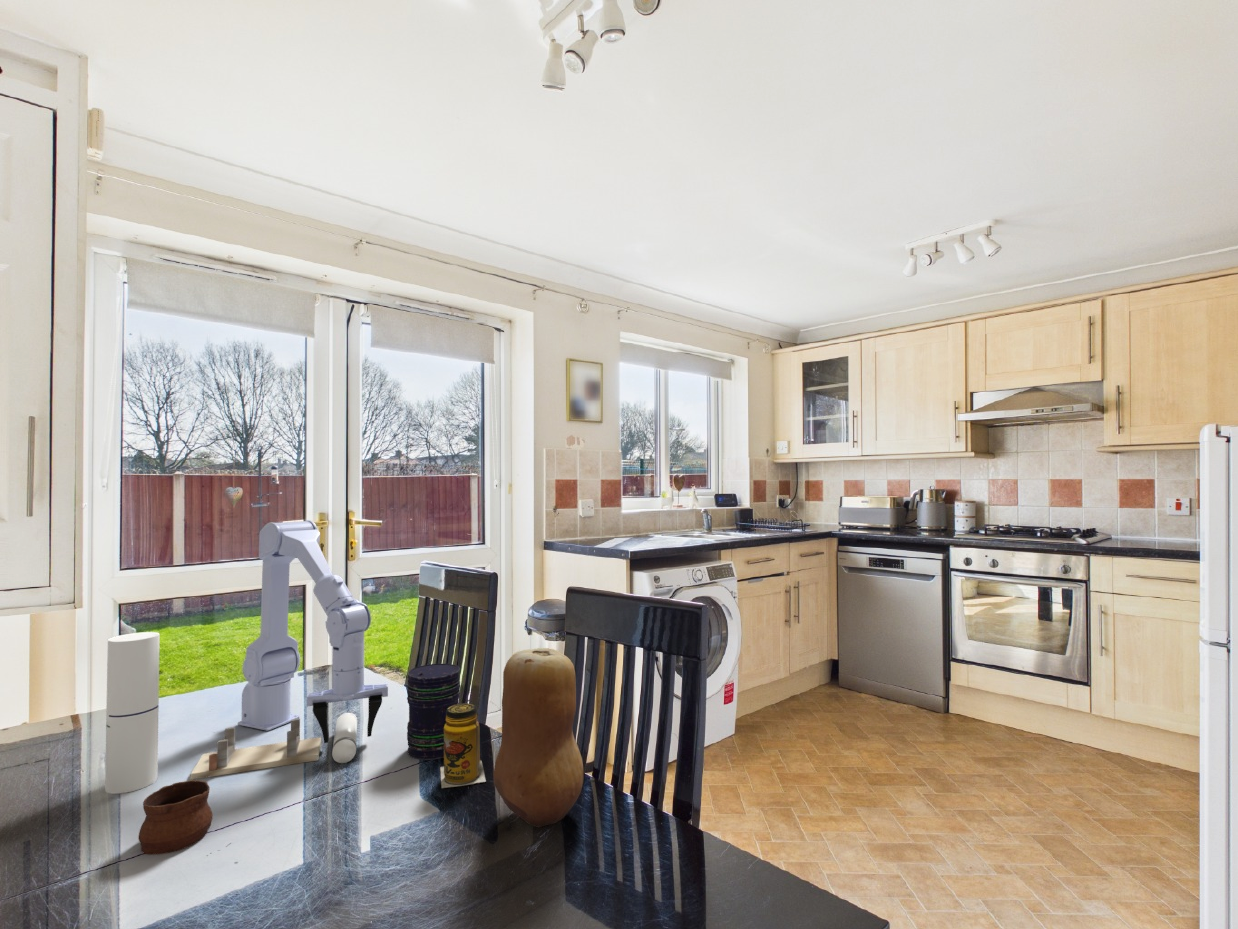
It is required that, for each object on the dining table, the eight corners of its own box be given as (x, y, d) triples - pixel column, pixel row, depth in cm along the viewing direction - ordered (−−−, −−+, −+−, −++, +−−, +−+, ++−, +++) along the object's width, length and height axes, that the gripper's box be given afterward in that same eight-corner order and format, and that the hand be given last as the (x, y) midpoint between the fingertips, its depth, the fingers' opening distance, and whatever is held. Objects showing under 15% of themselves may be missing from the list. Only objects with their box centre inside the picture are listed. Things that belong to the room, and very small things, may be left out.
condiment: (441, 789, 105) (441, 716, 106) (440, 768, 113) (440, 700, 114) (486, 783, 107) (485, 711, 108) (481, 762, 115) (481, 696, 116)
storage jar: (440, 734, 128) (440, 660, 129) (470, 747, 122) (470, 669, 123) (396, 751, 121) (396, 672, 121) (426, 765, 114) (426, 681, 115)
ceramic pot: (270, 830, 93) (269, 781, 94) (124, 896, 79) (124, 838, 79) (215, 799, 104) (215, 755, 104) (77, 853, 89) (77, 802, 89)
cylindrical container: (128, 795, 104) (131, 642, 105) (93, 791, 106) (96, 640, 106) (167, 775, 111) (170, 632, 112) (134, 772, 113) (136, 631, 113)
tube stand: (190, 780, 109) (190, 747, 110) (203, 759, 118) (203, 729, 118) (318, 760, 117) (318, 730, 117) (321, 742, 125) (321, 714, 125)
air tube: (338, 735, 130) (333, 716, 129) (359, 728, 131) (355, 709, 131) (334, 767, 115) (329, 745, 115) (358, 758, 116) (353, 736, 116)
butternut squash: (601, 809, 98) (599, 646, 99) (548, 853, 86) (547, 668, 87) (530, 788, 105) (529, 637, 106) (473, 826, 93) (473, 655, 94)
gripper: (305, 677, 117) (304, 751, 117) (388, 668, 122) (388, 739, 122) (308, 667, 124) (308, 738, 123) (387, 659, 129) (387, 726, 129)
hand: (348, 737), depth 123 cm, fingers open, 7 cm apart
